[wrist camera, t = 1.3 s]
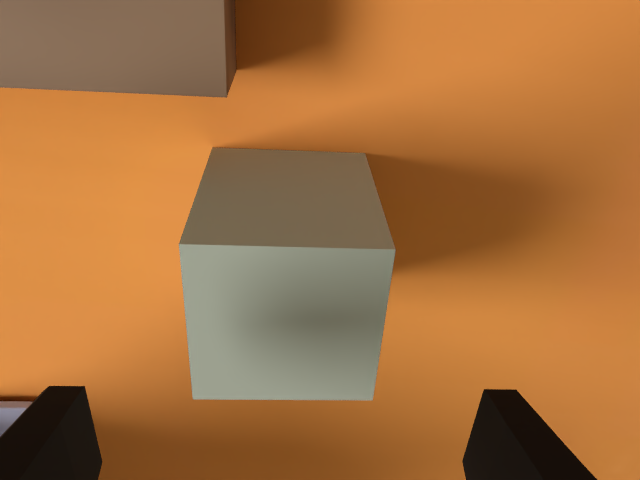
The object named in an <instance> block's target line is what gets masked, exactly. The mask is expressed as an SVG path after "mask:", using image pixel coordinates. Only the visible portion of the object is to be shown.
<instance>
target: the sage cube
mask: <svg viewBox="0 0 640 480" xmlns="http://www.w3.org/2000/svg"><path fill="white" fill-rule="evenodd" d="M179 250H180V261H181V272H182V284H183V295H184V306H185V317H186V328H187V340H188V351H189V362H190V373H191V384H192V396H193V399H218V400H373V395H374V388H375V382H376V375H377V369H378V362H379V356H380V349H381V343H382V336H383V329H384V323H385V316H386V310H387V303H388V297H389V290H390V283H391V277H392V270H393V264H394V257H395V251H396V249H395V246H394V243H393V240H392V236H391V233H390V230H389V227H388V224H387V221H386V218H385V214H384V211H383V208H382V205H381V202H380V199H379V195H378V192H377V189H376V186H375V183H374V180H373V177H372V173H371V170H370V167H369V164H368V161H367V158H366V154H365V153H350V152H323V151H296V150H268V149H241V148H214V147H212V150H211V153H210V156H209V159H208V162H207V165H206V168H205V170H204V173H203V176H202V179H201V182H200V185H199V188H198V191H197V194H196V196H195V199H194V202H193V205H192V208H191V211H190V214H189V217H188V220H187V222H186V225H185V228H184V231H183V234H182V237H181V240H180V243H179Z"/></svg>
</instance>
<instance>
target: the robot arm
mask: <svg viewBox="0 0 640 480" xmlns="http://www.w3.org/2000/svg"><path fill="white" fill-rule="evenodd" d="M101 465H102V459H101V454H100V450H99V446H98V441H97V437H96V433H95V429H94V424H93V420H92V416H91V411H90V407H89V403H88V399H87V394H86V390H85V386H49V387H48V388H46V389H45V390H44V391H43V392H42V393H41V394H40V395H39V396H38V397H37V398H36V399H35V400H34V401H33V402H30V401H0V480H98V477H99V473H100V469H101ZM463 466H464V471H465V476H466V480H597V479H596V478H595V477H594V476H593V475H592V474H591V473H590V472H589V470H588V469H587V468H586V467H585V466H584V465H583V464H582V463H581V462H580V461H579V460H578V458H577V457H576V456H575V455H574V454H573V453H572V452H571V451H570V450H569V448H568V447H567V446H566V445H565V444H564V443H563V442H562V441H561V440H560V438H559V437H558V436H557V435H556V434H555V433H554V432H553V431H552V429H551V428H550V427H549V426H548V425H547V424H546V423H545V422H544V420H543V419H542V418H541V417H540V416H539V415H538V414H537V413H536V411H535V410H534V409H533V408H532V407H531V406H530V405H529V404H528V402H527V401H526V400H525V399H524V398H523V397H522V396H521V395H520V394H519V392H518V391H517V390H493V389H484V391H483V394H482V398H481V401H480V404H479V408H478V411H477V414H476V418H475V421H474V424H473V428H472V431H471V434H470V438H469V441H468V444H467V448H466V451H465V454H464V458H463Z"/></svg>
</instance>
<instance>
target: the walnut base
mask: <svg viewBox="0 0 640 480" xmlns="http://www.w3.org/2000/svg"><path fill="white" fill-rule="evenodd" d="M235 73H236V30H235V0H0V87H5V88H27V89H49V90H72V91H94V92H116V93H139V94H161V95H183V96H206V97H227V95H228V92H229V90H230V87H231V84H232V81H233V78H234V76H235Z"/></svg>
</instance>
